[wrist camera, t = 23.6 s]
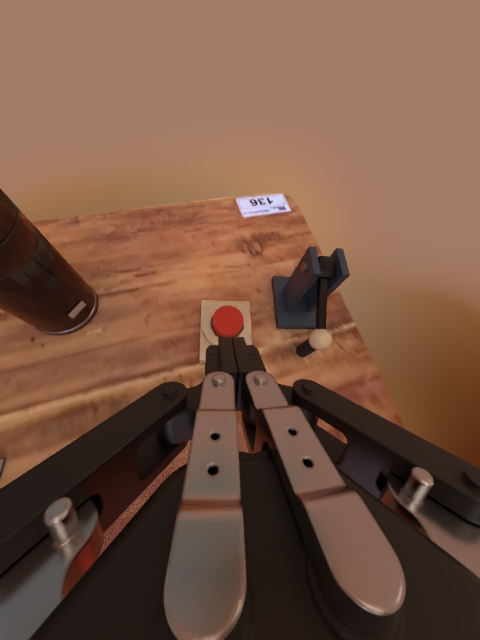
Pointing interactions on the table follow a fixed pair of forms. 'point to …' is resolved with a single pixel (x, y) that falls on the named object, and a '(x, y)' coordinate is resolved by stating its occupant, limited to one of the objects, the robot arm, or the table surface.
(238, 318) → the power button
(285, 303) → the switch bracket
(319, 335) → the switch lever
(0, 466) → the sketchbook
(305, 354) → the rest post
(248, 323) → the control box
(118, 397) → the table surface
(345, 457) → the robot arm
